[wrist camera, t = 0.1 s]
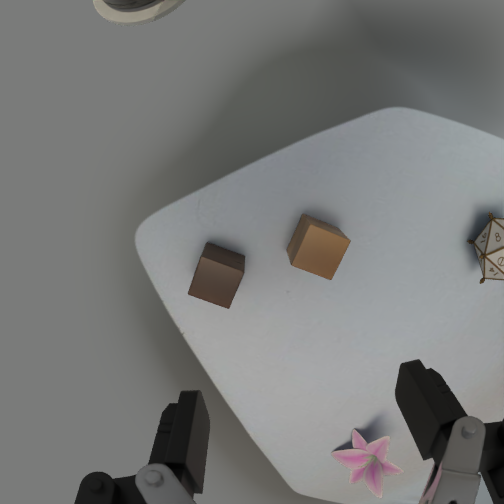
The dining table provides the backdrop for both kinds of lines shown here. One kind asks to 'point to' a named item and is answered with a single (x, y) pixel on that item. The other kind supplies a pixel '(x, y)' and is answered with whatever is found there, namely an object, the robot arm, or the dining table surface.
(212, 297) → the walnut block
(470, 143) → the dining table surface
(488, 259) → the game die
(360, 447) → the lily
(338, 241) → the oak block
